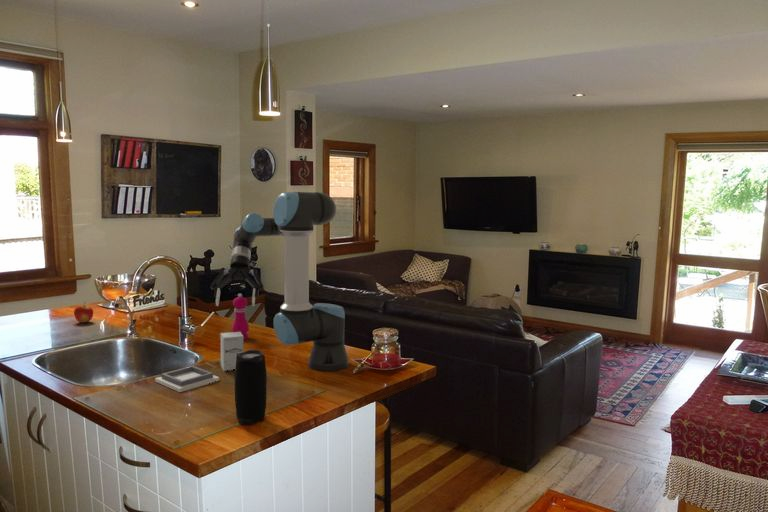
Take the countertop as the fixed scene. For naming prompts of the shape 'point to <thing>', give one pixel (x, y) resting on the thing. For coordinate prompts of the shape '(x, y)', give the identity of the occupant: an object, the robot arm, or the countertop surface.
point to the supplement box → (230, 349)
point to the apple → (83, 313)
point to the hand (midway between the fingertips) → (235, 304)
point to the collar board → (186, 378)
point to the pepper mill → (240, 316)
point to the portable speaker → (250, 386)
